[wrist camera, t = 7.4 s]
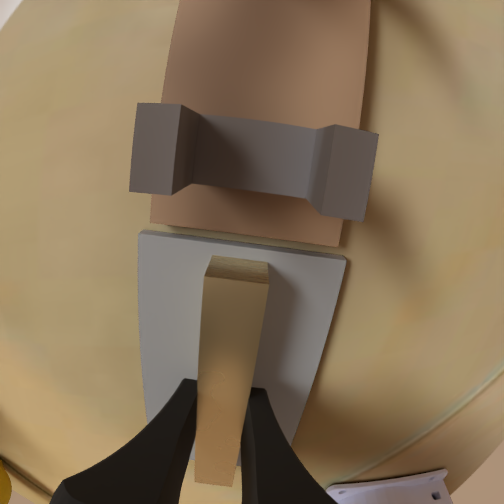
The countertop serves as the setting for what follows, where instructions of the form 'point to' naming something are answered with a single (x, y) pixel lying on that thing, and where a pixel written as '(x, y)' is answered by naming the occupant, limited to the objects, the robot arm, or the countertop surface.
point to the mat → (273, 328)
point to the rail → (227, 361)
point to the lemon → (4, 485)
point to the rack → (260, 120)
